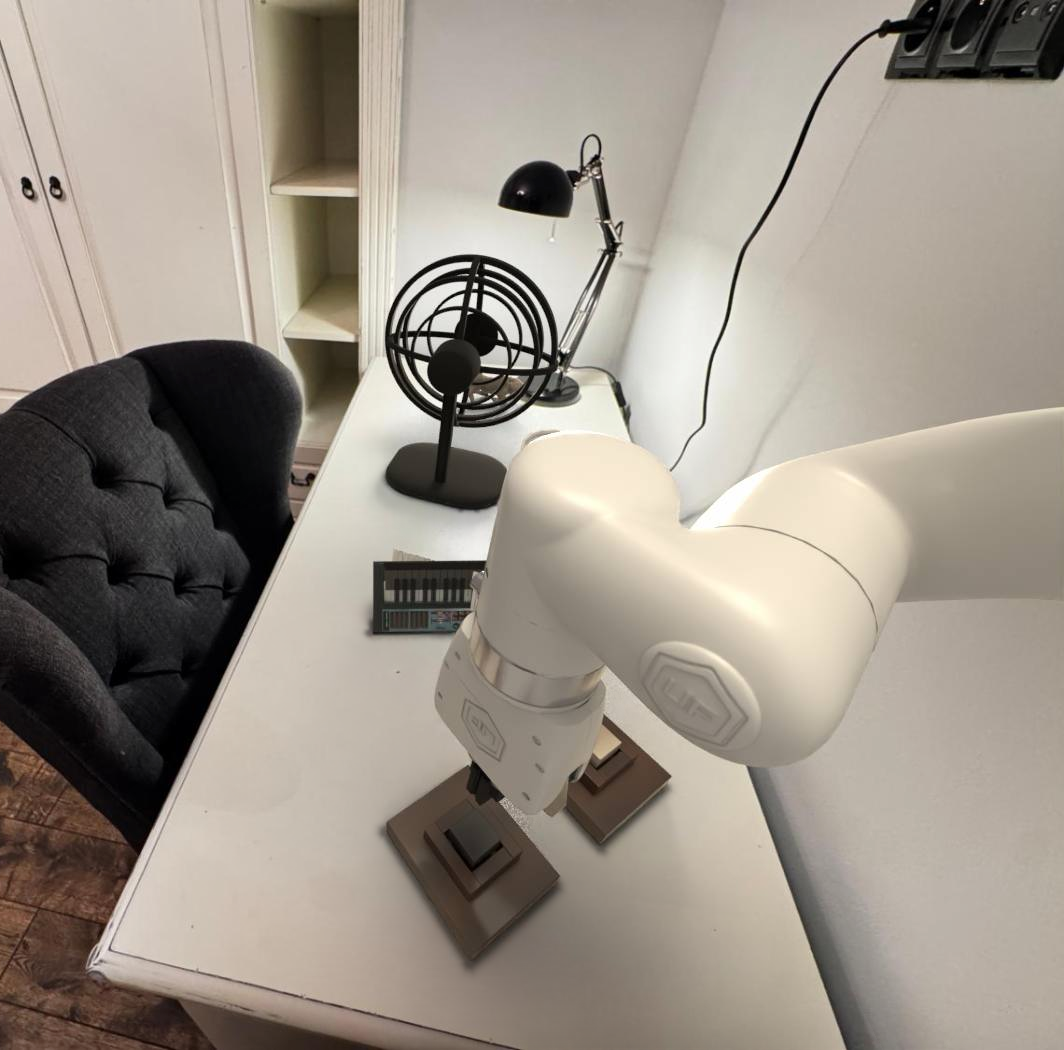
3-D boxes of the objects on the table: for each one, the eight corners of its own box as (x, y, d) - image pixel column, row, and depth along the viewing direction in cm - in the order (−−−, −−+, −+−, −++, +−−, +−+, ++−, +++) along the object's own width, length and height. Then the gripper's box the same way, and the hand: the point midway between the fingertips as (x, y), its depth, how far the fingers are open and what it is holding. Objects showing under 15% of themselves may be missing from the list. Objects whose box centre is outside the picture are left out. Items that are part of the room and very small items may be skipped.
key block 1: (555, 884, 51) (565, 868, 48) (470, 961, 46) (477, 947, 44) (465, 774, 58) (470, 755, 56) (385, 831, 54) (387, 812, 51)
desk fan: (536, 466, 101) (586, 256, 79) (516, 524, 89) (569, 294, 66) (393, 434, 109) (402, 235, 87) (357, 484, 97) (356, 267, 74)
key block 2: (664, 786, 57) (678, 767, 55) (599, 845, 53) (611, 827, 51) (571, 699, 65) (580, 678, 62) (508, 744, 61) (514, 724, 58)
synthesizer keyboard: (558, 555, 70) (555, 589, 62) (551, 625, 74) (547, 667, 65) (392, 537, 78) (367, 565, 69) (392, 601, 81) (369, 636, 72)
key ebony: (498, 847, 50) (502, 838, 48) (471, 869, 48) (473, 861, 47) (474, 815, 52) (476, 806, 51) (447, 835, 50) (449, 827, 49)
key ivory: (616, 751, 56) (622, 742, 55) (595, 768, 55) (600, 759, 54) (590, 726, 58) (595, 717, 57) (569, 742, 57) (574, 733, 56)
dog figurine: (463, 405, 118) (468, 371, 113) (467, 392, 122) (472, 360, 118) (522, 413, 116) (529, 379, 111) (524, 400, 120) (531, 367, 115)
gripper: (407, 585, 36) (393, 736, 47) (599, 787, 26) (521, 911, 38) (495, 542, 39) (461, 693, 51) (696, 708, 29) (596, 846, 41)
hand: (487, 787), depth 44 cm, fingers closed
